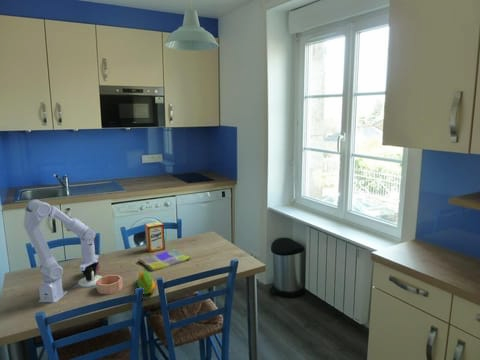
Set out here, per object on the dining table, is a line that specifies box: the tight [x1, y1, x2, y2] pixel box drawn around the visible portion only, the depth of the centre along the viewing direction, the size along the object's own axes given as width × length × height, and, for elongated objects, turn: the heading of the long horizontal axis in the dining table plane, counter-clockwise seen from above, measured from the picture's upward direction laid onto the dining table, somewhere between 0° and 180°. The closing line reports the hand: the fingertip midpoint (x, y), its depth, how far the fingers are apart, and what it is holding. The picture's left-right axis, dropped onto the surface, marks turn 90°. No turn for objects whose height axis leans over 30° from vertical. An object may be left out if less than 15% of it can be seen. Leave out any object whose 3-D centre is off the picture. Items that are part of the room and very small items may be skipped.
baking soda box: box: [144, 221, 166, 254], centre depth 213 cm, size 10×6×16 cm
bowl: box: [96, 274, 124, 295], centre depth 166 cm, size 11×11×4 cm
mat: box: [72, 275, 105, 289], centre depth 173 cm, size 12×12×1 cm
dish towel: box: [137, 248, 191, 272], centre depth 197 cm, size 18×24×3 cm
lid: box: [77, 270, 102, 287], centre depth 173 cm, size 11×11×5 cm
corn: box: [136, 270, 156, 295], centre depth 166 cm, size 7×8×20 cm
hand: (90, 278), depth 173 cm, fingers closed on lid, 3 cm apart
